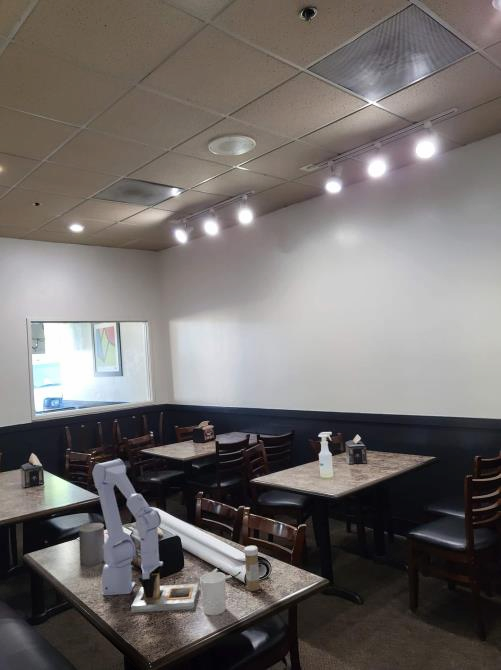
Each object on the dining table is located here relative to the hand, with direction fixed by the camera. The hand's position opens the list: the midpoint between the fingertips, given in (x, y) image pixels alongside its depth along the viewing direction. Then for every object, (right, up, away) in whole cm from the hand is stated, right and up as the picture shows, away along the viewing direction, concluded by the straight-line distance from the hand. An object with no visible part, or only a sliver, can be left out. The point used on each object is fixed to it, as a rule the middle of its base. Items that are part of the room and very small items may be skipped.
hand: (151, 592), depth 160 cm
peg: (0, -3, 0) cm, 3 cm away
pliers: (+20, -3, +14) cm, 25 cm away
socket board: (+5, -3, 0) cm, 5 cm away
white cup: (+21, -1, -8) cm, 23 cm away
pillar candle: (-31, -7, +37) cm, 49 cm away
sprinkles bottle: (+33, -1, +5) cm, 34 cm away
